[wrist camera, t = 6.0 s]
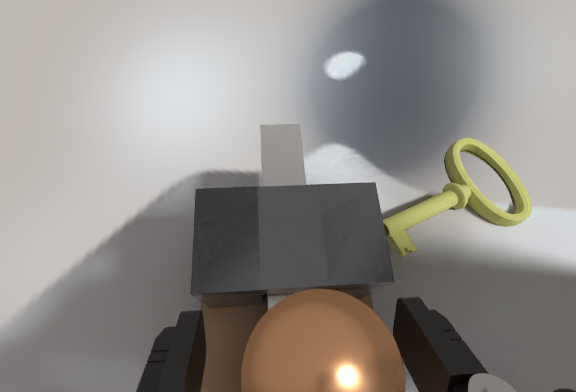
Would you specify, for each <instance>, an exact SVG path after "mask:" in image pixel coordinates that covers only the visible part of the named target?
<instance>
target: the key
mask: <svg viewBox="0 0 576 392" xmlns="http://www.w3.org/2000/svg"><path fill="white" fill-rule="evenodd" d="M460 152H466V153H469V154H471V155H474V156H475V157H477V158H479V159H480V160H482V161H483V162H485V163H486V164H487V165H489V166H490V167H491V168H492V169H493V170H494V171H495V172H496V173H497V174H498V176H499V177H500V178H501V180H502V181H503V182H504V184H505V186H506V187H507V189H508V191H509V194H510V197H511V200H512V203H513V205H516V210H515V213H514V214H509V213H507V212H504V211H503V210H501V209H500V208H498V207H497V206H495V205H494V204H493V203H491V202H490V201H489V200H488V199H487V198H486V197H485V196H484V195H483V194H482V193H481V192H480V190H479V189H478V188H477V187H476V186H475V184H474V183H473V182H472V180H471V179H470V178H469V176H468V174H467V173H466V171H465V169H464V167H463V165H462V163H461V159H460V155H459V153H460ZM444 165H445V169H446V173H447V175H448V177H449V180H450V181H451V183H449V184H447V185H446V186H445V187H444V188H443V192H442V193H440V194H438V195H436V196H434V197H432V198H429V199H427V200H425V201H423V202H421V203H419V204H417V205H414V206H412V207H410V208H408V209H406V210H404V211H401V212H399V213H397V214H395V215H393V216H391V217H388V218H386V219H384V220H383V225H384V230H385V235H386V238H389V239H390V241H391V243H392V244H393V246H394V247H395V249H396V250H397V252H398V254H399V255H400V257H401V258H402V257H404V256H406V255H407V253H406V252H409V254H410V253H412V252H414V251H415V250H417V248H416V246H415V245H414V243H413V241H412V240H411V238H410V237H409V235H408V234H407V232H406V231H405V230H406V229H408V228H410V227H412V226H414V225H416V224H418V223H420V222H422V221H424V220H426V219H428V218H430V217H433V216H435V215H437V214H439V213H441V212H443V211H445V210H447V209H449V208H451V207H453V208H454V209H461V208H464V207H465V206H466V204H467V203H468V204H469V205H470V206H471V207H472V208H473V209H474V211H476V212H477V213H478V214H479V215H481V216H482V217H483V218H485V219H487V220H488V221H490V222H492V223H494V224H497V225H500V226H514V225H517V224H519V223H521V222H523V221H524V220H525V219H526V218H528V217H529V216H530V214H531V210H532V205H531V201H530V198H529V195H528V193H527V191H526V189H525V187H524V185H523V184H522V182H521V181H520V179H519V178H518V176H517V175H516V174H515V172H514V171H513V170H512V169H511V167H510V166H509V165H508V164H507V163H506V162H505V161H504V160H503V159H502V158H501V157H500V156H499V155H498V154H497V153H496V152H495V151H494V150H492V149H491V148H490V147H488V146H486V145H485V144H483V143H481V142H480V141H478V140H475V139H472V138H464V139H461V140H459V141H457V142H456V143H454V144H453V145H451V147H450V148H449V149H448V151H447V152H446V155H445V157H444Z"/></svg>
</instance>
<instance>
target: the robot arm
mask: <svg viewBox="0 0 576 392" xmlns="http://www.w3.org/2000/svg"><path fill="white" fill-rule="evenodd" d="M393 336H394V340H395V342H396V344H397V346H398V349H399V352H400V355H401V357H402V359H403V361H404V363H405V365H406V367H407V369H408V371H409V373H410V375H411V377H412V379H413V381H414V383H415V385H416V387H417V389H418V391H419V392H517V391H516V390H515V389H514V388H513V387H512V386H511V385H510V384H509V383H508V382H506V381H505V380H503V379H501V378H499V377H497V376H494V375H491V374H488V372H487V371H486V370H485V368H484V367H483V366H482V364H481V363H480V362H479V361H478V359H477V358H476V357H475V355H474V354H473V353H472V351H471V350H470V349H469V347H468V346H467V345H466V343H465V342H464V341H462V338H461V337H460V336H459V334H458V333H457V332H455V329H454V328H453V326H452V325H451V324H450V322H449V321H448V320H447V319H446V318H445V317H444V316H442V315H441V314H440V313H438V312H437V311H435V310H428V308H427V307H426V306H425V304H424V303H423V301H422V300H421V299H420V298H419V297H408V298H399V299H398V300H397V304H396V312H395V319H394V327H393ZM205 362H206V337H205V328H204V320H203V313H202V311H201V310H200V311H184V312H181V313H180V315H179V319H178V322H177V325H176V327H166V328H165V329H164V330H163V331H162V332H161V333H160V334H159V335H158V337H157V338H156V339H155V342H154V345H153V347H152V350H151V354H150V356H149V358H148V361H147V364H146V367H145V369H144V372H143V375H142V377H141V380H140V383H139V386H138V388H137V391H136V392H201V386H202V380H203V374H204V368H205ZM554 392H576V391H574V390H571V389H557V390H555V391H554Z"/></svg>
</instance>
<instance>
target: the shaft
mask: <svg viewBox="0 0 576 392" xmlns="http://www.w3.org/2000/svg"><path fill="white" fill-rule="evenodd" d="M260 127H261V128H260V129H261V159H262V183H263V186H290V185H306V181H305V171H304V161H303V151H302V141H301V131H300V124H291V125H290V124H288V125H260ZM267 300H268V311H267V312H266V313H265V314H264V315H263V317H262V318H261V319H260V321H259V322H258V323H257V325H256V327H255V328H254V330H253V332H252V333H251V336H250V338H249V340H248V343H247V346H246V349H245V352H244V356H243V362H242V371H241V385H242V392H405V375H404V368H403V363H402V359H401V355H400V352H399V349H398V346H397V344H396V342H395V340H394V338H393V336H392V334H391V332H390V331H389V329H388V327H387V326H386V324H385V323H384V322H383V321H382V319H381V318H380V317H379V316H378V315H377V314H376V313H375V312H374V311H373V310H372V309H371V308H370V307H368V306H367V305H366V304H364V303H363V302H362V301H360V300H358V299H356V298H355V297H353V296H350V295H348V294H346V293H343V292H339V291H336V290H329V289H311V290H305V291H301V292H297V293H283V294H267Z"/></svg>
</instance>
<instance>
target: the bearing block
mask: <svg viewBox="0 0 576 392" xmlns="http://www.w3.org/2000/svg"><path fill="white" fill-rule="evenodd" d="M393 282H394V277H393V271H392V266H391V261H390V256H389V251H388V246H387V240H386V235H385V230H384V225H383V220H382V214H381V209H380V204H379V199H378V194H377V189H376V183H375V182H372V183H345V184H318V185H290V186H263V187H235V188H208V189H196V195H195V217H194V239H193V260H192V282H191V295H193V296H194V297H196V298H197V299H198V300H200V301H201V302H202V303H204V304H205V305H206V306H208V307H209V308H222V307H237V306H253V305H268V300H267V294H283V293H297V292H301V291H305V290H311V289H329V290H336V291H339V292H343V293H346V294H348V295H350V296H353V297H355V298H356V299H361V298H365V297H366V296H368V295H370V294H372V293H374V292H376V291H378V290H380V289H382V288H383V287H385V286H387V285H389V284H391V283H393Z"/></svg>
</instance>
